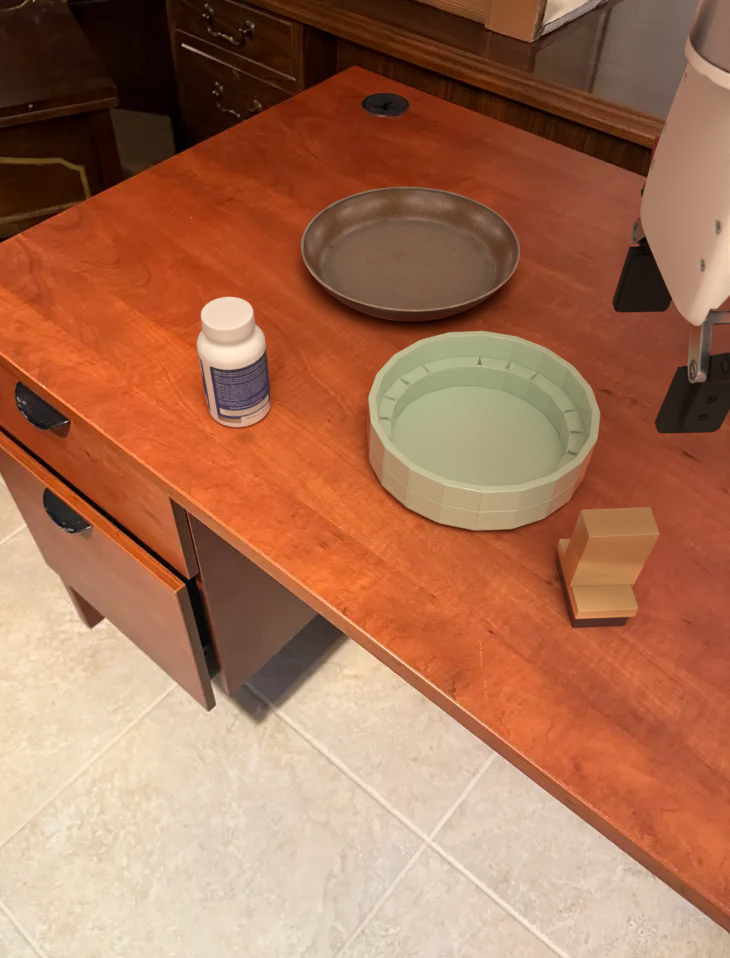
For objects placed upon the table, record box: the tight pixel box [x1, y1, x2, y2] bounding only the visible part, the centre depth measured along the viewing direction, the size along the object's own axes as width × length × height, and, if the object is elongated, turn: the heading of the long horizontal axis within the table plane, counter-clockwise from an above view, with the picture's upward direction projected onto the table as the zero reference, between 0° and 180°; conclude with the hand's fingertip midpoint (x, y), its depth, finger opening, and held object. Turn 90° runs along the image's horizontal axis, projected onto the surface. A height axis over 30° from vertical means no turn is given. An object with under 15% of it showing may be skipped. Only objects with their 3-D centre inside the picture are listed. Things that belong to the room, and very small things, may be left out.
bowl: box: [366, 330, 601, 532], centre depth 64 cm, size 17×17×5 cm
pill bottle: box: [196, 296, 272, 428], centre depth 66 cm, size 5×5×10 cm
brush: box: [555, 506, 661, 629], centre depth 55 cm, size 6×4×8 cm
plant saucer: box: [300, 186, 521, 322], centre depth 79 cm, size 21×21×3 cm
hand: (660, 365), depth 45 cm, fingers open, 9 cm apart
